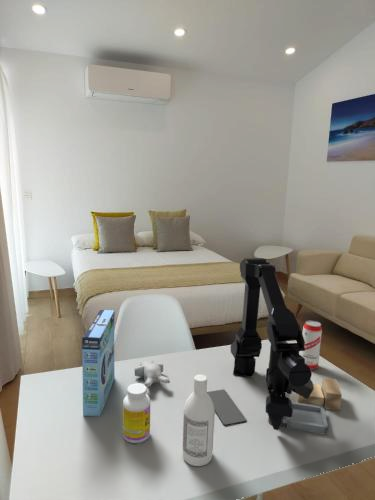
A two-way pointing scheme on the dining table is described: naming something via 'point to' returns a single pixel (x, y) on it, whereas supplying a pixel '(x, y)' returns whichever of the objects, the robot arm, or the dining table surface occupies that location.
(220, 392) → the smartphone
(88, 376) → the light blue cardboard box
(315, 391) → the tan beveled block
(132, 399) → the supplement bottle
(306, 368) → the robot arm
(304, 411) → the tray
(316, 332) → the beer can
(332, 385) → the block
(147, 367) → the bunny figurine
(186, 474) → the dining table surface
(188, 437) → the bath foam
